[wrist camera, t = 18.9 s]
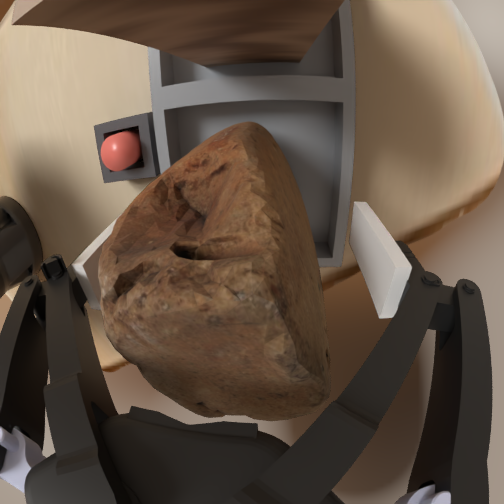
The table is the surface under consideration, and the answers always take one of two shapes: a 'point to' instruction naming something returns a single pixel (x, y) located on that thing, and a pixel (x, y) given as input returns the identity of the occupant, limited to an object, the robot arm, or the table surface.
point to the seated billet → (194, 25)
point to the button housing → (148, 145)
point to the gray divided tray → (274, 118)
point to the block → (221, 283)
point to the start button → (121, 150)
